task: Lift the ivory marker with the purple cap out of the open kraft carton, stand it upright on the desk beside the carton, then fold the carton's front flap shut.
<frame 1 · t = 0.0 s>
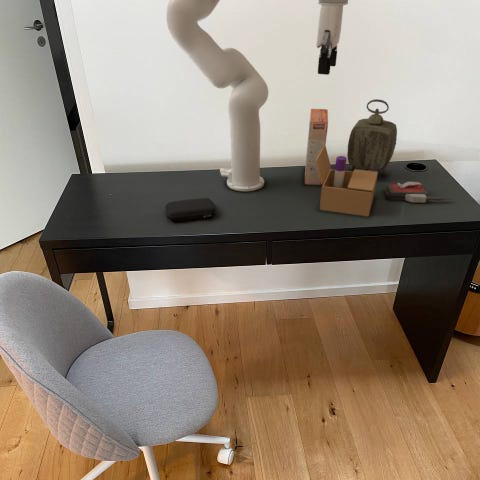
hand: (326, 69, 138), 37 cm above the table, tool pointing down, fingers open, 9 cm apart
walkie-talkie: (414, 198, 159), on the table
flap: (323, 163, 150), point 12 cm above the table, hinge at 110.0°
carton: (347, 204, 155), on the table
cracker box: (313, 177, 171), on the table
marker: (336, 201, 156), resting on carton
carrying case: (191, 215, 151), on the table
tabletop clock: (366, 176, 172), on the table
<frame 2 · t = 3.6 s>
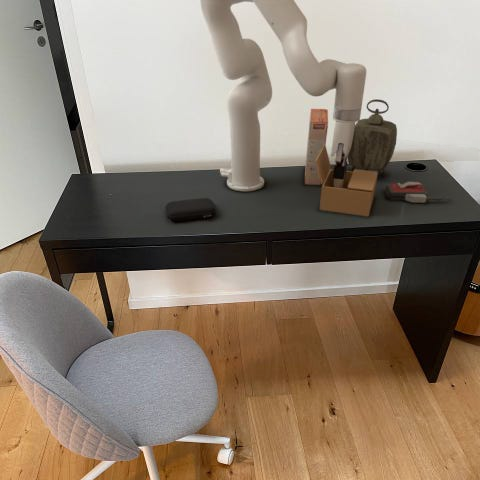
hand: (339, 175, 150), 9 cm above the table, tool pointing down, fingers closed on marker, 3 cm apart
marker: (336, 201, 156), resting on carton, touching gripper
everything else where it was.
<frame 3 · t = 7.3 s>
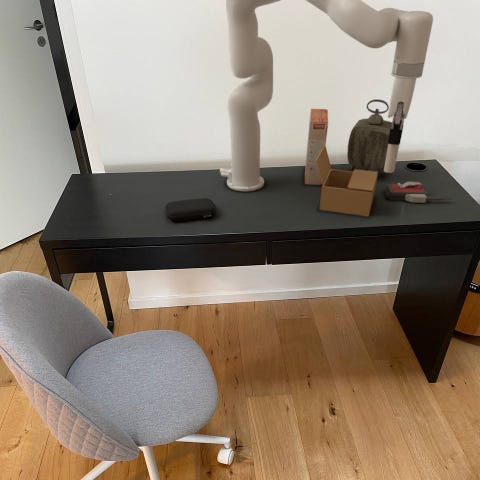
hand: (394, 141, 137), 22 cm above the table, tool pointing down, fingers closed on marker, 3 cm apart
marker: (388, 170, 142), point 13 cm above the table, touching gripper
everything else where it was.
when the fingers open (8 cm above the table, at t = 11.0 s): marker stays where it is, on the table.
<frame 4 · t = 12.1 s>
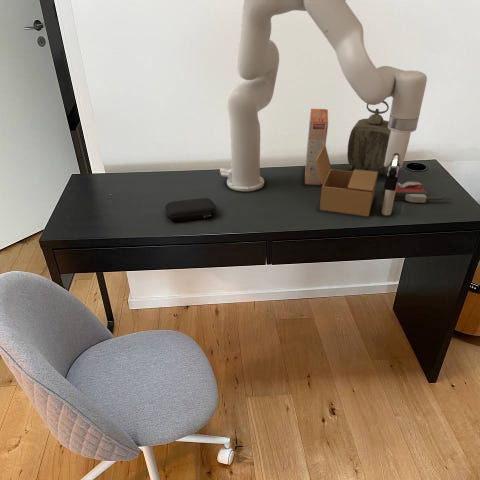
hand: (390, 182, 144), 10 cm above the table, tool pointing down, fingers open, 9 cm apart
marker: (386, 213, 150), on the table
everything else where it was.
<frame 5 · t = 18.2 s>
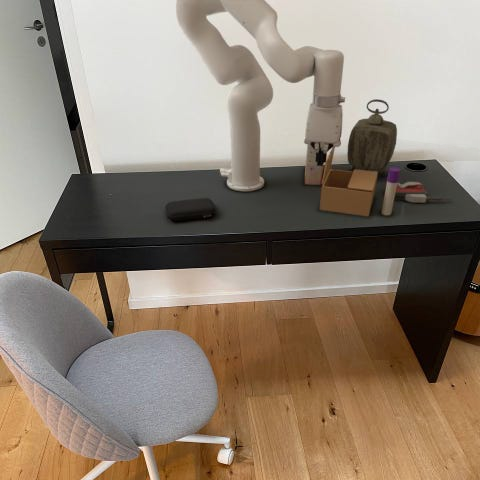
hand: (320, 164, 150), 12 cm above the table, tool pointing down, fingers closed
flap: (328, 163, 149), point 12 cm above the table, hinge at 85.0°, touching gripper
everything else where it was.
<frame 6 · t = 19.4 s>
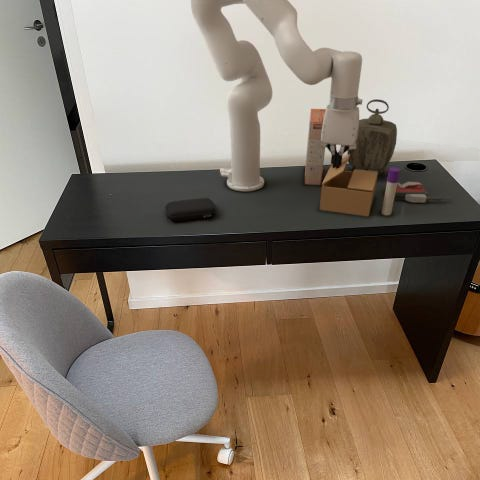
hand: (335, 166, 149), 12 cm above the table, tool pointing down, fingers closed
flap: (336, 168, 149), point 11 cm above the table, hinge at 40.3°
everything else where it was.
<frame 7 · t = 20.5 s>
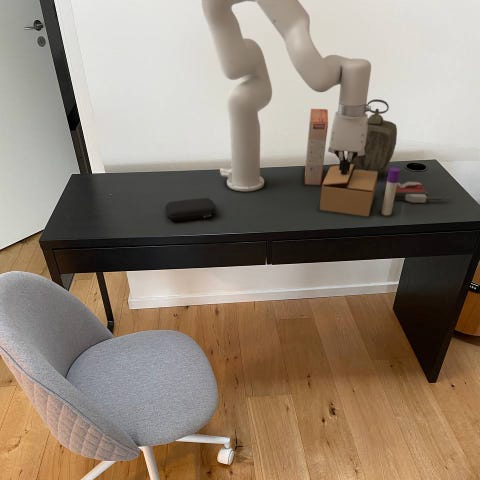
hand: (343, 172, 149), 10 cm above the table, tool pointing down, fingers closed
flap: (338, 174, 150), point 9 cm above the table, hinge at 12.2°, touching gripper
everything else where it was.
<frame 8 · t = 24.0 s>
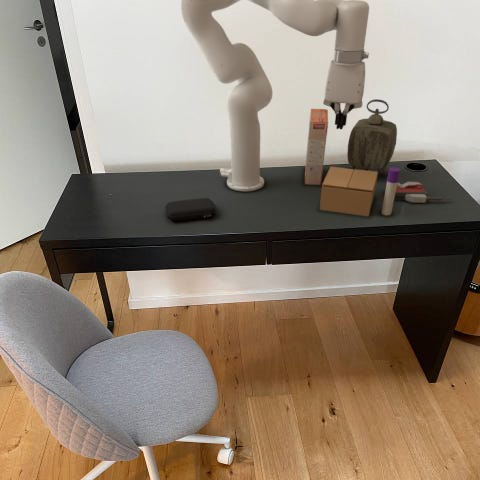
hand: (339, 127, 142), 23 cm above the table, tool pointing down, fingers closed
flap: (338, 177, 151), point 8 cm above the table, hinge at -0.5°
everything else where it was.
at the end: marker inside the target area (0.2 cm from its centre), on the table; marker tilted 0°; flap at +0° (first picture: +110°) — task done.
